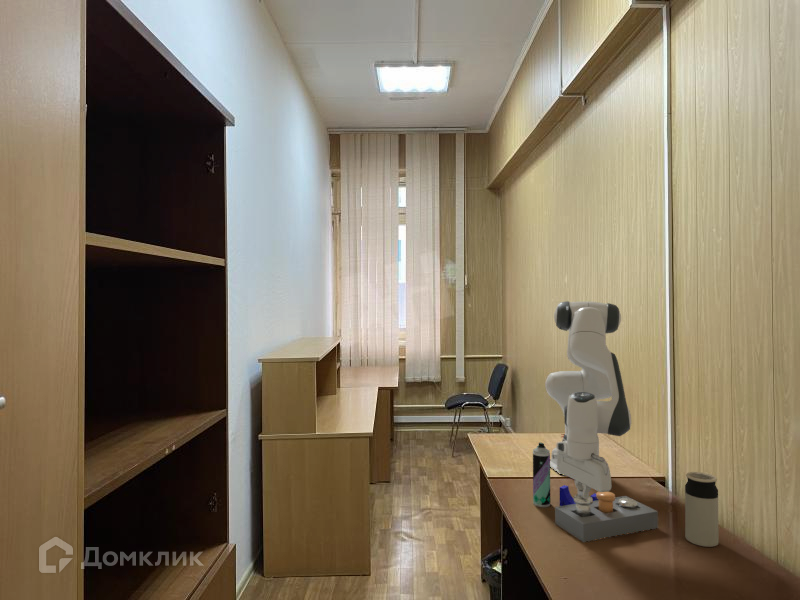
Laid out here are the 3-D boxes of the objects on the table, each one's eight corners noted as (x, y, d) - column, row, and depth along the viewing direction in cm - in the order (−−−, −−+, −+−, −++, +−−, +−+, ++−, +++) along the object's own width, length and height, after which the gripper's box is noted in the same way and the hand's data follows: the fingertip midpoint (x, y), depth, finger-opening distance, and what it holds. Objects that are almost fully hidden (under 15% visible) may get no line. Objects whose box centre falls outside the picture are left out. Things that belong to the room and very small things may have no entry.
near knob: (570, 516, 157) (569, 495, 157) (584, 513, 159) (584, 493, 159) (581, 523, 152) (581, 502, 152) (596, 520, 154) (596, 499, 154)
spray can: (529, 502, 177) (529, 441, 177) (543, 499, 179) (542, 440, 179) (540, 508, 172) (539, 446, 172) (554, 505, 174) (553, 444, 174)
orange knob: (592, 512, 160) (592, 492, 160) (607, 510, 162) (606, 490, 162) (604, 519, 155) (604, 498, 155) (619, 516, 157) (619, 496, 157)
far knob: (614, 519, 163) (614, 499, 163) (628, 516, 164) (628, 497, 164) (627, 525, 158) (626, 505, 158) (641, 523, 159) (641, 503, 159)
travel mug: (714, 550, 143) (714, 483, 142) (681, 541, 148) (681, 476, 148) (721, 540, 148) (721, 475, 148) (689, 532, 154) (689, 469, 154)
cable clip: (601, 512, 169) (601, 493, 169) (594, 516, 166) (594, 497, 166) (566, 502, 178) (566, 484, 178) (559, 505, 174) (559, 487, 174)
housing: (555, 523, 160) (555, 507, 160) (625, 511, 169) (625, 495, 169) (583, 542, 148) (583, 524, 148) (657, 528, 156) (657, 511, 156)
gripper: (617, 458, 147) (617, 508, 147) (570, 439, 166) (570, 484, 166) (598, 460, 145) (598, 512, 145) (552, 441, 164) (553, 487, 164)
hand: (583, 497), depth 156 cm, fingers closed
